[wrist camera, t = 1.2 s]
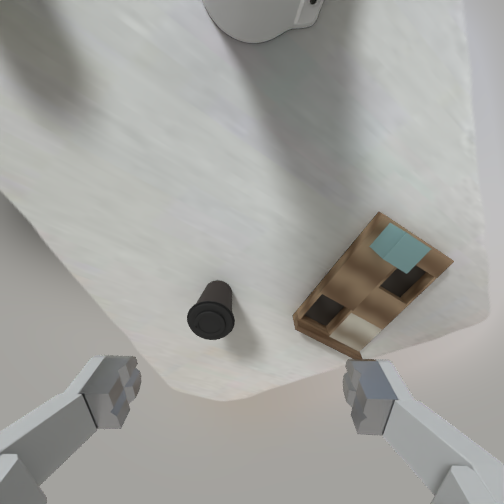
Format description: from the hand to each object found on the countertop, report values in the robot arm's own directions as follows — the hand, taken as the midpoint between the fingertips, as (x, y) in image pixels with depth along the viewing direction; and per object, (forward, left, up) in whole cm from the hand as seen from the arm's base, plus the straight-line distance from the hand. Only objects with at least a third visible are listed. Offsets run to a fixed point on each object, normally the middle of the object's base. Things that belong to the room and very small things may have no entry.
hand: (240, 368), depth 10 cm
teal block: (-5, +24, -33) cm, 41 cm away
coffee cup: (+21, +4, -35) cm, 41 cm away
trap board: (+5, +28, -35) cm, 45 cm away
